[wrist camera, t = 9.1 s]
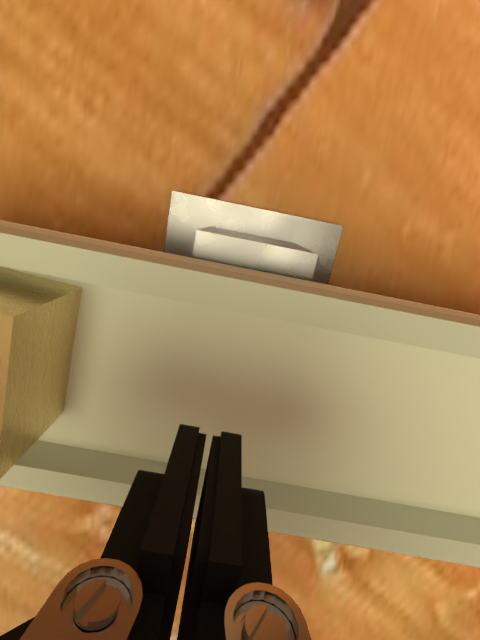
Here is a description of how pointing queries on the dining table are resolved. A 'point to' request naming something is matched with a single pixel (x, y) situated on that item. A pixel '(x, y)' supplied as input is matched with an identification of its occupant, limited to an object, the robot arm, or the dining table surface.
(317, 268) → the pivot stand
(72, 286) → the block
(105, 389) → the balance beam
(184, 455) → the robot arm
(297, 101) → the dining table surface
